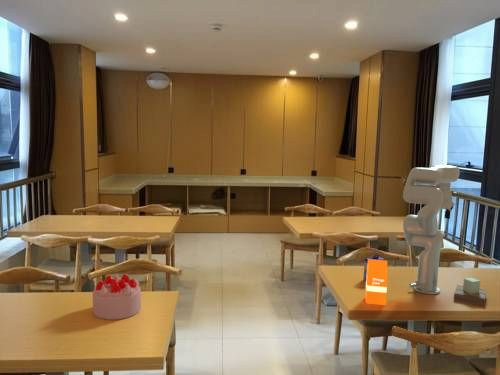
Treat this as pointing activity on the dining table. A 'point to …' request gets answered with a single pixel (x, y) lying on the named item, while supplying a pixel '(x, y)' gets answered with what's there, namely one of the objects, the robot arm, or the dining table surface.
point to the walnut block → (470, 296)
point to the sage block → (471, 285)
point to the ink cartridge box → (367, 264)
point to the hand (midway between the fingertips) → (440, 218)
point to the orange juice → (376, 282)
